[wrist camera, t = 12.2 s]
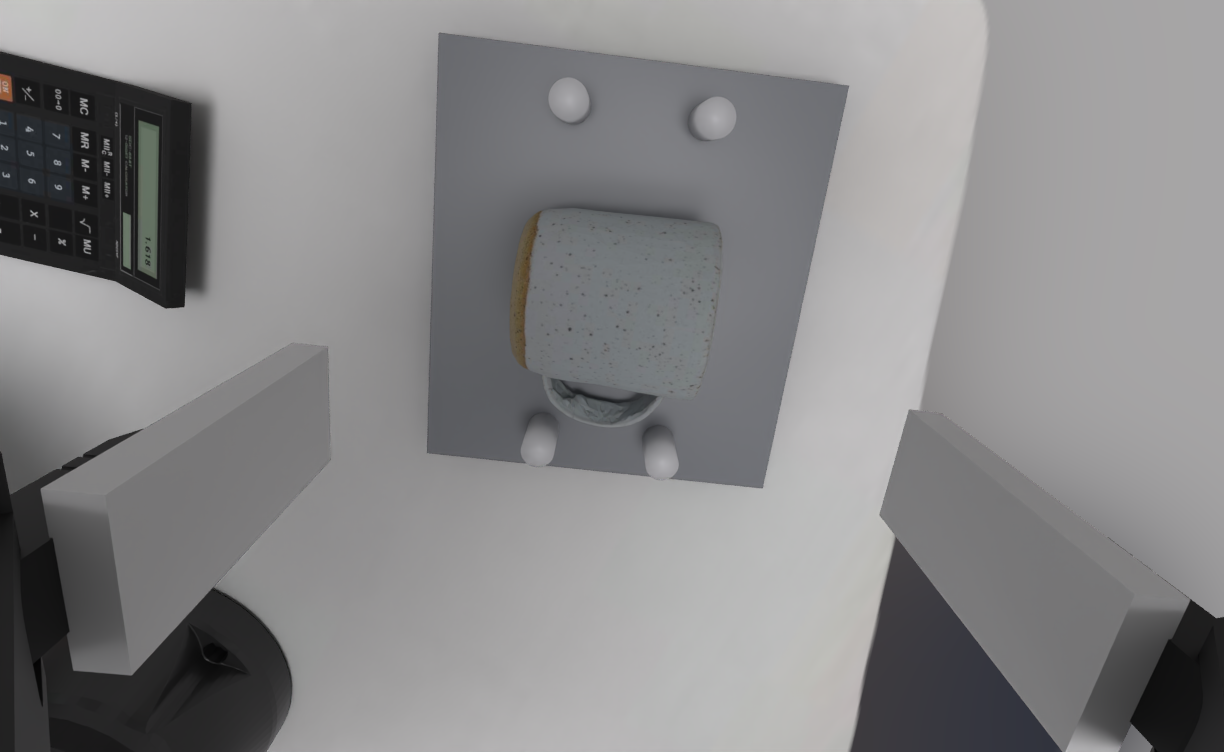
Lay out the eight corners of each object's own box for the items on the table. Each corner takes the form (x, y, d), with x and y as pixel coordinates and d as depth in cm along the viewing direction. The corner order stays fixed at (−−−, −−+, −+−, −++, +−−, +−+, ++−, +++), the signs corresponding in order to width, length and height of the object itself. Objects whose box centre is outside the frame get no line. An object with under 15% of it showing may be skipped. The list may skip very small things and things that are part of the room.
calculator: (-39, 41, 29) (-108, 29, 27) (220, 107, 30) (180, 102, 28) (-25, 243, 32) (-86, 251, 30) (211, 297, 33) (174, 310, 30)
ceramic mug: (534, 196, 30) (508, 212, 23) (710, 214, 30) (740, 236, 23) (522, 407, 33) (496, 480, 26) (679, 422, 34) (697, 498, 26)
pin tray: (434, 441, 35) (410, 479, 31) (447, 38, 29) (418, 18, 25) (756, 475, 36) (776, 518, 32) (837, 89, 30) (875, 77, 26)
